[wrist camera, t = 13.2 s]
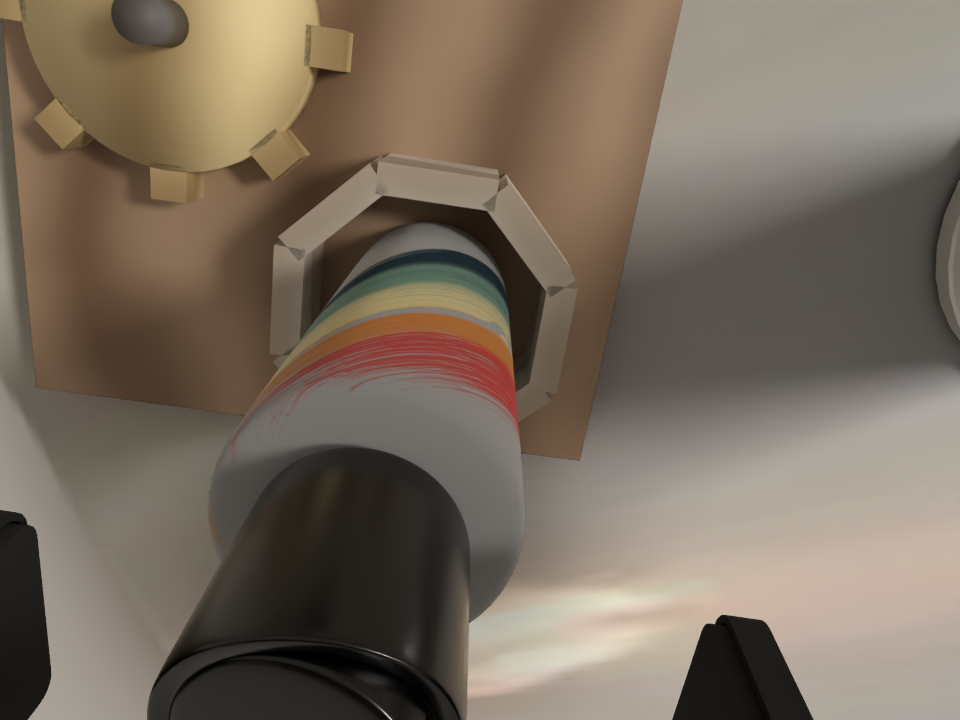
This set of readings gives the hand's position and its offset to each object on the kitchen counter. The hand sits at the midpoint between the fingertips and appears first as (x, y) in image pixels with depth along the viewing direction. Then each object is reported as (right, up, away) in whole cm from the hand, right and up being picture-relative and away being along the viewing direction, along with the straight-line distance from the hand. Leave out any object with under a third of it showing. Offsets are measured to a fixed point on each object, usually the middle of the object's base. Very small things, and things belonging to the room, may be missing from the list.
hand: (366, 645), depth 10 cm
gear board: (-4, +11, +16) cm, 20 cm away
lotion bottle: (0, +6, +17) cm, 18 cm away
